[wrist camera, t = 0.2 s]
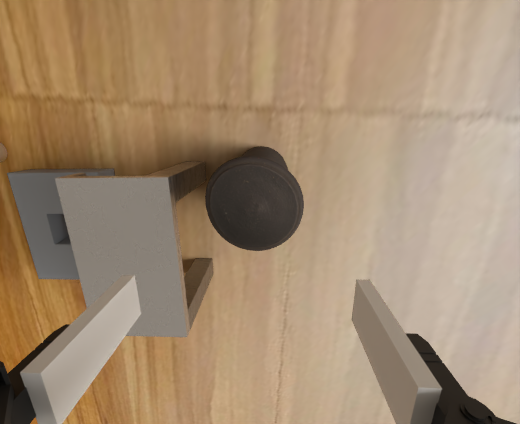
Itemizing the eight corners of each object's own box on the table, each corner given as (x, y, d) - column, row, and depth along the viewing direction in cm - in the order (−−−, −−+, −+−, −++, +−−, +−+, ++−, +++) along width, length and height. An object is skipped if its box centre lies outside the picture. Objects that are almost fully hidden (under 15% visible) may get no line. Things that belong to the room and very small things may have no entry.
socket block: (30, 169, 43) (7, 173, 39) (113, 168, 42) (97, 172, 38) (57, 267, 48) (38, 278, 44) (131, 267, 47) (119, 279, 43)
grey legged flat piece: (130, 162, 41) (54, 178, 27) (204, 161, 41) (168, 177, 26) (148, 272, 47) (93, 335, 33) (213, 273, 47) (187, 337, 32)
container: (252, 209, 43) (237, 272, 24) (224, 162, 41) (181, 188, 22) (299, 184, 41) (323, 229, 22) (272, 133, 39) (272, 135, 20)
